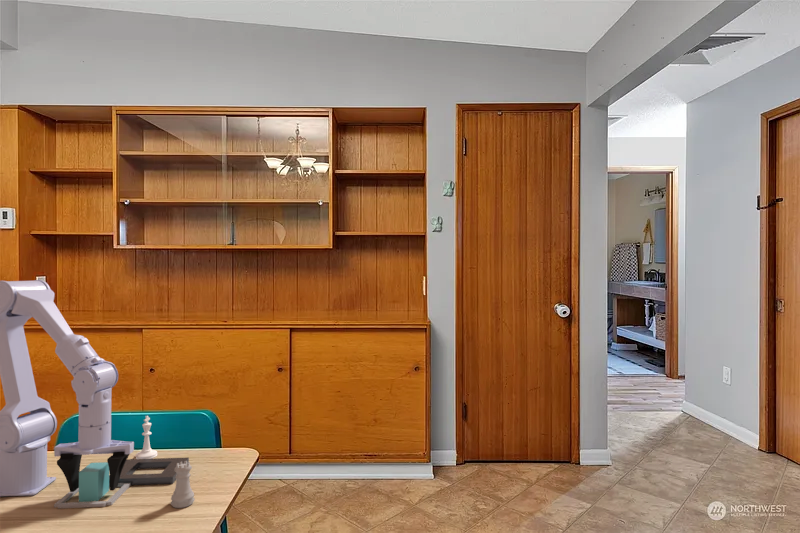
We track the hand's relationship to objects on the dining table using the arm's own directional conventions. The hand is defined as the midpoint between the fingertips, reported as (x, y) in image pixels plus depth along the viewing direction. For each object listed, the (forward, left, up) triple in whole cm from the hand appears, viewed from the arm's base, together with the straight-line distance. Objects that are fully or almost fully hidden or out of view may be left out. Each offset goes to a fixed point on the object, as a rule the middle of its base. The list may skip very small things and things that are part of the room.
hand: (94, 489), depth 101 cm
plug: (0, 0, -2) cm, 2 cm away
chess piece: (+2, +21, -2) cm, 21 cm away
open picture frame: (0, 0, -1) cm, 1 cm away
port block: (+7, +10, -1) cm, 12 cm away
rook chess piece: (+19, -5, -2) cm, 20 cm away
